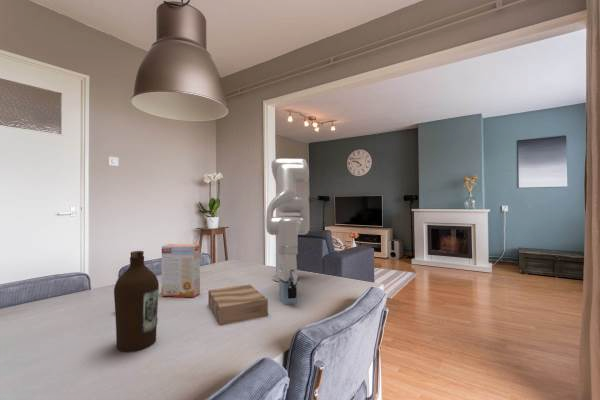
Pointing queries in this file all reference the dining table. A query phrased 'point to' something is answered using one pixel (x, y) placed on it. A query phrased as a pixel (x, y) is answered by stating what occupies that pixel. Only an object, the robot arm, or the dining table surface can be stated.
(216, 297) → the riser block
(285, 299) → the blue block
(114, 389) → the dining table surface
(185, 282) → the cracker box
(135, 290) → the olive oil
